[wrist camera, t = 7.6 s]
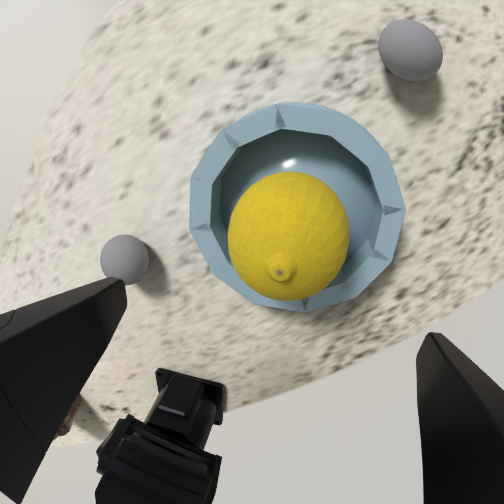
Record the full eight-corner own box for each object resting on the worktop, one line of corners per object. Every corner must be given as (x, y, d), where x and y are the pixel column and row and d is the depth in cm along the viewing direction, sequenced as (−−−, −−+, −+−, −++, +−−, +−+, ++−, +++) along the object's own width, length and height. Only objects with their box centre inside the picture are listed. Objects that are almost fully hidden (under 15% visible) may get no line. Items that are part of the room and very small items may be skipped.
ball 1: (158, 274, 23) (136, 299, 20) (119, 266, 24) (94, 288, 21) (156, 230, 22) (131, 251, 19) (115, 224, 22) (87, 243, 19)
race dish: (370, 302, 21) (375, 326, 19) (199, 273, 23) (185, 294, 20) (411, 123, 16) (426, 126, 13) (207, 94, 17) (189, 93, 15)
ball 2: (427, 90, 15) (450, 87, 12) (370, 76, 15) (382, 68, 12) (431, 37, 13) (453, 24, 10) (375, 21, 14) (386, 4, 11)
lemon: (358, 184, 17) (386, 237, 10) (319, 265, 20) (316, 352, 13) (267, 145, 17) (230, 170, 10) (235, 230, 20) (188, 302, 13)
